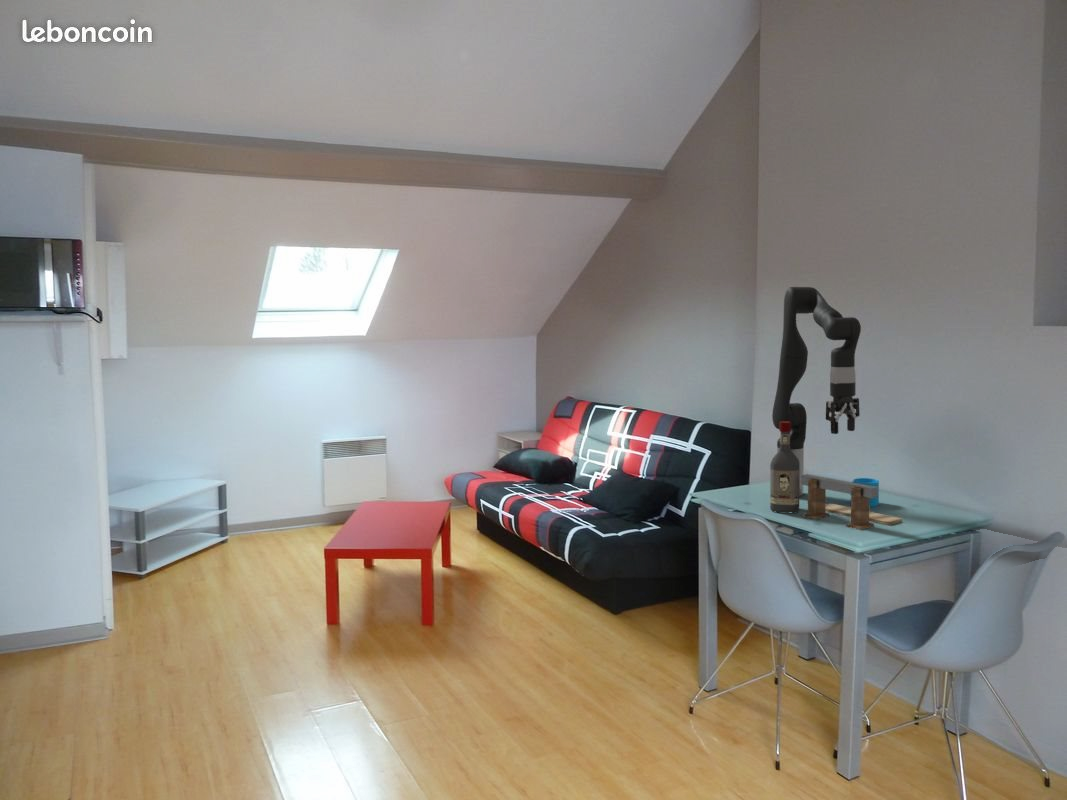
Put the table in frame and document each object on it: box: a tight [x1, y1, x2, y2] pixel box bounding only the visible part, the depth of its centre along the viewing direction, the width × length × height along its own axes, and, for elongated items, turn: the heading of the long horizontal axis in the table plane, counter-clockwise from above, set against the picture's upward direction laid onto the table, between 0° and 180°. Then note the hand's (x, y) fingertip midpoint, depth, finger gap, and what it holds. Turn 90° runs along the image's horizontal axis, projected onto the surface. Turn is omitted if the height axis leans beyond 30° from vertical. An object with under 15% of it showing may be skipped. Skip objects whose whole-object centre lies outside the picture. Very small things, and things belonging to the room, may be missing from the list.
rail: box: [801, 473, 878, 498], centre depth 262 cm, size 26×3×3 cm, turn 34°
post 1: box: [803, 479, 831, 520], centre depth 269 cm, size 5×7×12 cm
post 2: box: [845, 487, 875, 531], centre depth 256 cm, size 5×7×12 cm
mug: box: [849, 477, 880, 507], centre depth 286 cm, size 12×8×8 cm
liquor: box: [769, 421, 800, 513], centre depth 277 cm, size 9×9×30 cm
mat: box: [825, 503, 903, 526], centre depth 269 cm, size 26×7×1 cm, turn 34°
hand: (842, 432), depth 261 cm, fingers open, 8 cm apart
